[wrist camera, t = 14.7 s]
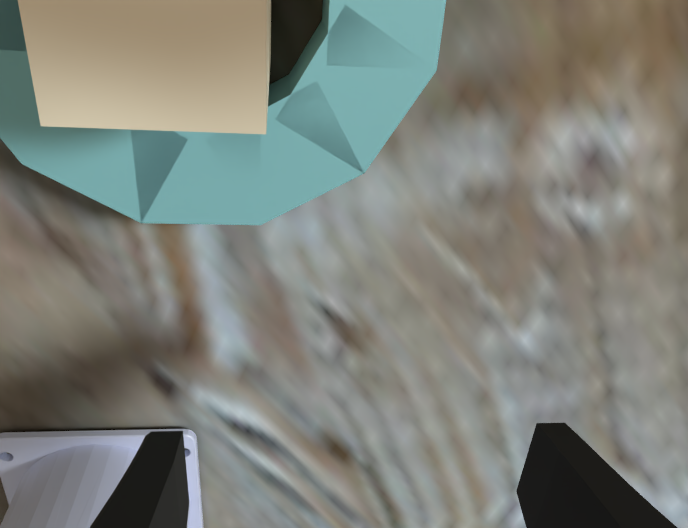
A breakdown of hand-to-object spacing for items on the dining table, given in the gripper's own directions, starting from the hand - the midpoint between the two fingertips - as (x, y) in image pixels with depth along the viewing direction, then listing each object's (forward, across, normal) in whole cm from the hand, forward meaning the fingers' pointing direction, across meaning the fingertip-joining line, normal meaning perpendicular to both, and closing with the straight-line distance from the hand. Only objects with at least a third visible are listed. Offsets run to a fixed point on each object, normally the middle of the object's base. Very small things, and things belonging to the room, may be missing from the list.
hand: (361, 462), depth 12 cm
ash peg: (+10, +4, -8) cm, 14 cm away
